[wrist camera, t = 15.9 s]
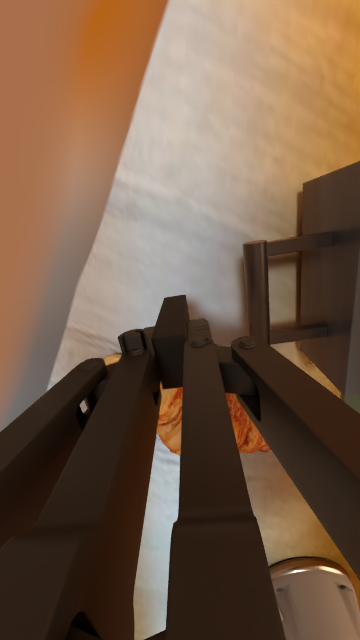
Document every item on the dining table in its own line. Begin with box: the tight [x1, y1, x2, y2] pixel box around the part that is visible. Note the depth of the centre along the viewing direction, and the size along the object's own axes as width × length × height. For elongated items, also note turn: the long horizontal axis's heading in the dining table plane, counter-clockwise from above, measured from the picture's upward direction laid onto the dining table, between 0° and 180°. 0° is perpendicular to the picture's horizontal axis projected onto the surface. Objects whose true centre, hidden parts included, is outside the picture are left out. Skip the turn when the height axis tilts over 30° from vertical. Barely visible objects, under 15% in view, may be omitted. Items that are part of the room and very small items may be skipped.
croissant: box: [103, 354, 270, 455], centre depth 25 cm, size 21×10×8 cm, turn 62°
